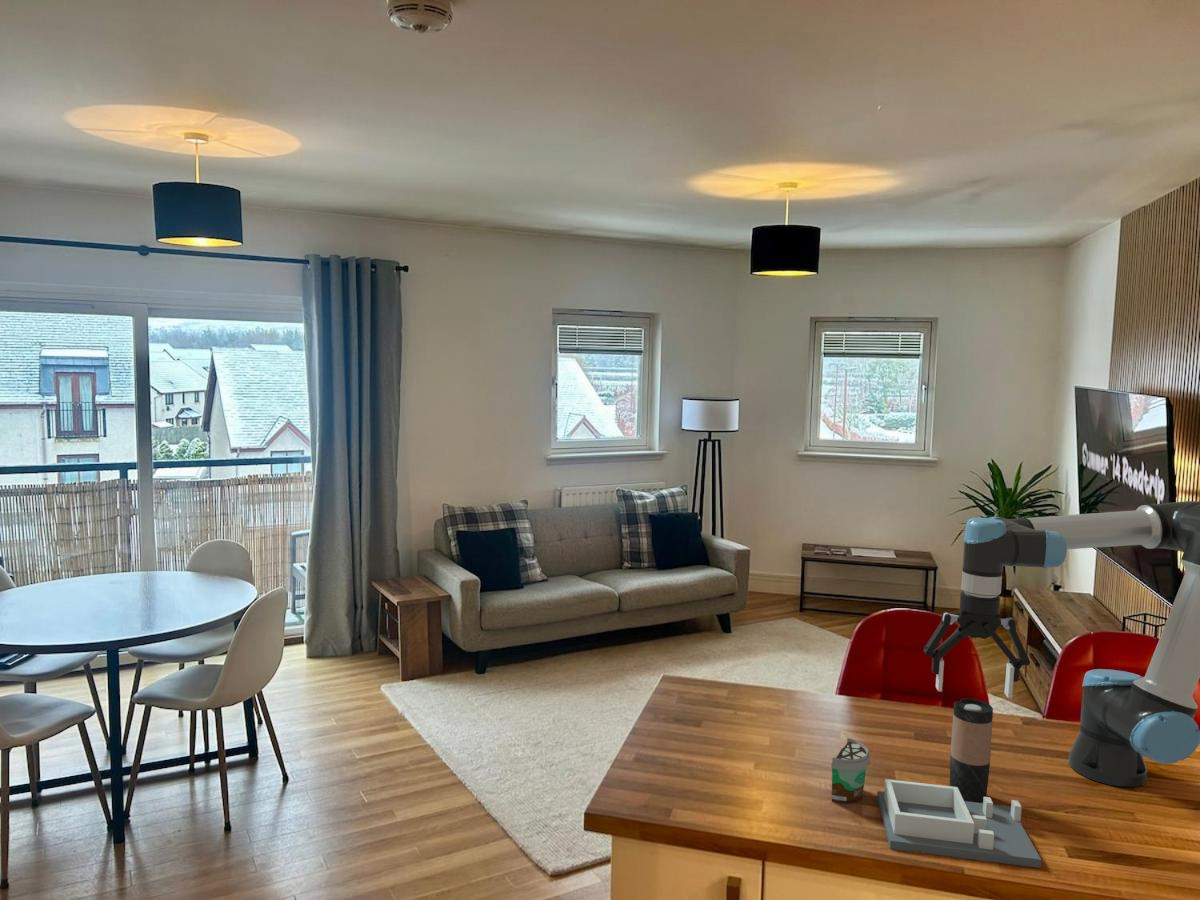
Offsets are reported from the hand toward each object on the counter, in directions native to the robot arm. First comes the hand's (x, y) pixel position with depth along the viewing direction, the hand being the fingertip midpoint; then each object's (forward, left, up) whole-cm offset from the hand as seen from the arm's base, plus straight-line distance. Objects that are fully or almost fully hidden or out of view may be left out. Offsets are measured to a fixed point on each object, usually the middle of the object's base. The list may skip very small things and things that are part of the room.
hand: (973, 692), depth 173 cm
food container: (+24, +6, -23) cm, 34 cm away
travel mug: (0, 0, -23) cm, 23 cm away
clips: (-2, +16, -21) cm, 27 cm away
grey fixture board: (+6, +15, -23) cm, 28 cm away
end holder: (+11, +15, -21) cm, 28 cm away
